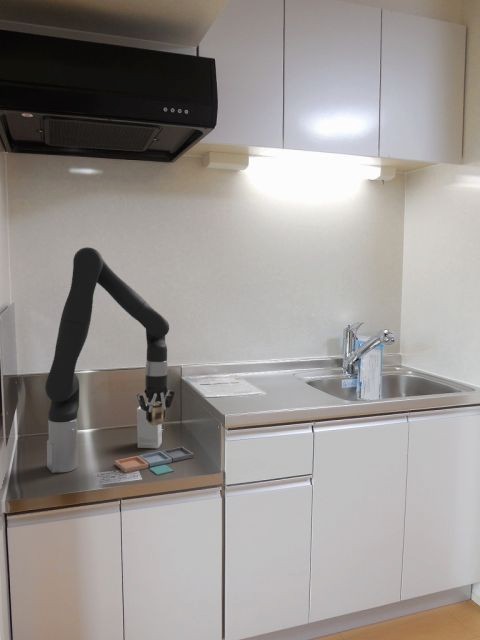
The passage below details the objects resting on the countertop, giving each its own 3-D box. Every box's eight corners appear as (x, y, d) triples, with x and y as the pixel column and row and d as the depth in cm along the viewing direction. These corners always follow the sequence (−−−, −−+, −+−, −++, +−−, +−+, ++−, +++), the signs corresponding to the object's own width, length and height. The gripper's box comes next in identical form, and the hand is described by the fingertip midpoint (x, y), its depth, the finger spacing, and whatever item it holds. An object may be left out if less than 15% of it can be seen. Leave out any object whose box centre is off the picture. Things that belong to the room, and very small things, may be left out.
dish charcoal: (172, 462, 185) (173, 458, 185) (161, 454, 192) (161, 450, 192) (193, 457, 190) (193, 453, 190) (182, 450, 197) (182, 446, 196)
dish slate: (149, 467, 180) (149, 463, 179) (139, 459, 186) (139, 455, 186) (171, 462, 185) (171, 458, 184) (160, 454, 191) (160, 451, 191)
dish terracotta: (125, 473, 174) (125, 468, 174) (115, 464, 181) (115, 460, 181) (148, 467, 179) (148, 463, 179) (137, 459, 186) (137, 455, 186)
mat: (157, 475, 173) (157, 474, 173) (149, 469, 178) (149, 468, 178) (173, 471, 177) (173, 470, 177) (165, 465, 182) (165, 464, 182)
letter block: (153, 425, 181) (153, 408, 180) (147, 422, 184) (148, 405, 184) (163, 423, 183) (163, 407, 183) (157, 420, 187) (158, 404, 186)
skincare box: (162, 443, 203) (162, 404, 202) (157, 449, 197) (158, 409, 195) (141, 442, 204) (141, 403, 202) (136, 448, 198) (136, 408, 196)
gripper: (142, 377, 175) (141, 426, 177) (179, 373, 183) (178, 420, 185) (133, 372, 181) (132, 420, 183) (169, 369, 189) (168, 415, 191)
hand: (155, 420), depth 184 cm, fingers closed on letter block, 4 cm apart
